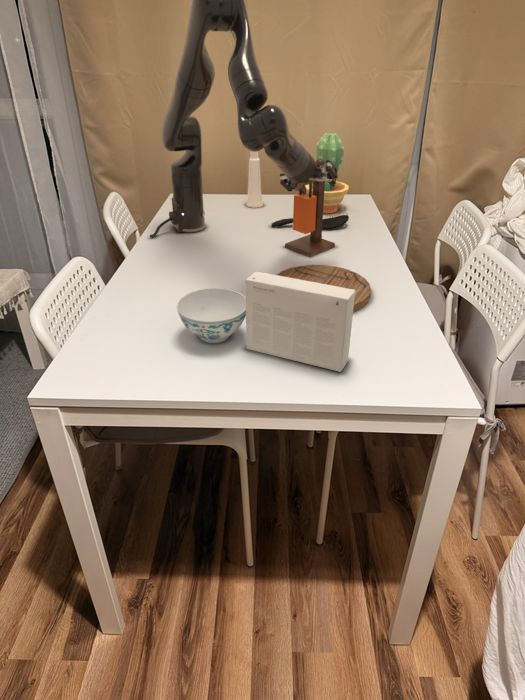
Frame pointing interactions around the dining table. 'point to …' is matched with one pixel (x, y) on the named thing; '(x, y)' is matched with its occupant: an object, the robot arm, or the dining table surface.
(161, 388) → the dining table surface
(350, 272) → the trivet
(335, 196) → the potted cactus
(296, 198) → the orange handled weight
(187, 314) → the chinaware
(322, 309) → the skincare box
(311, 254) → the hook stand
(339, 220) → the hairbrush
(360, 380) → the dining table surface
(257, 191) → the cosmetic bottle
